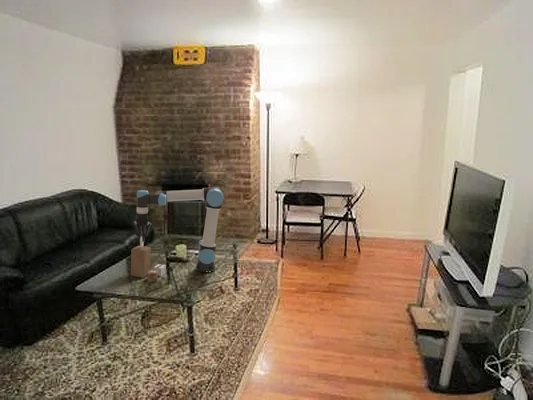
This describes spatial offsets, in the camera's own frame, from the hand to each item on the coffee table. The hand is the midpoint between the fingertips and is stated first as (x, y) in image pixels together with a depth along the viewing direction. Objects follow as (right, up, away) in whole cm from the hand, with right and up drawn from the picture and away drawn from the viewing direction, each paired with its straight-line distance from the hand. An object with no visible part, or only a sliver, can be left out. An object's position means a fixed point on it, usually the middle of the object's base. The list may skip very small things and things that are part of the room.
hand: (141, 245), depth 259 cm
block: (-2, -21, +3) cm, 22 cm away
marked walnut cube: (+9, -23, -4) cm, 25 cm away
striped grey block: (+10, -21, +8) cm, 25 cm away
